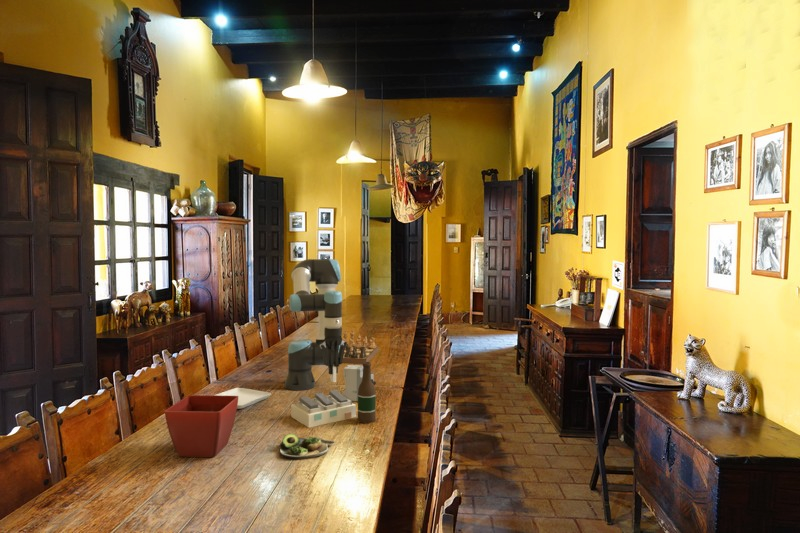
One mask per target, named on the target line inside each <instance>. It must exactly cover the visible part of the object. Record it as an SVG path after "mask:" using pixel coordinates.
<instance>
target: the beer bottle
mask: <svg viewBox="0 0 800 533" xmlns="http://www.w3.org/2000/svg"><path fill="white" fill-rule="evenodd" d="M362 365H363V378H362V382H361V384H360V386H359V388H358V401H357V422H359V423H361V424H371V423H374V422H376V402H377V401H376V396H377V395H376V386H375V385H374V384H373V383H372V381H371V374H372V371H371V370H372V368H371V366H372V362H370V361H369V362H364V363H363V364H362Z"/></svg>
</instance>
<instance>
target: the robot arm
mask: <svg viewBox="0 0 800 533" xmlns="http://www.w3.org/2000/svg"><path fill="white" fill-rule="evenodd" d="M290 275H291V280H292V282H293V294H290V295H289V310H290V311H291V312H318V336H317V337H316V338H315V341H314V342H313V341H312V339H309V338H306V339H304V338H303V339H297V340H294V341H291V342H290V343H288V348H287V349H288V350H287V355H288V358H287V361H288V362H287V364H288V365H287V367H288V368H287V374H286V378H285V380H284V388H285V389H286V390H290V391H304V390H310V389H313V388H315V387H316V381H315V378H314V374H313V371H312V366H327V367H328V374H329V381H330V382H331V383H336V382H337V374H338V372H339V371H338V370H339V367H340V366H341V365H342V364H343V363H342V360H343V355H344V351H345V347H346V345H347V342H348V341H347V342H344V341H343V337H342V336H343V328H342V325H343V324H342V323H343V319H342V318H343V314H342V313H343V312H342V311H343V306H342V305H343V296H342V295H343V294H342V292H341V290H339V291H338V290H336V288H337V287H338V285H339V282H341V281H342V276H341V275H342V274H341V268H340V263H339V261H338V260H337V259H332V258H331V259H330V258H326V259H325V258H324V259H323V258H316V259H314V258H313V259H312V258H309V259H308V258H307V259H304V260H302V261H300V262H298V263H297V264H296V265H294V267H293V268H292V270H291V273H290ZM311 282H312V283H315V287H316V288H317V289H318V290H317V292H318V294H317V293H315V294H312V293H311V287H310V285H311V284H310V283H311Z"/></svg>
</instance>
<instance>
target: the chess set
mask: <svg viewBox="0 0 800 533" xmlns="http://www.w3.org/2000/svg"><path fill="white" fill-rule="evenodd" d="M349 334H350V337H349V339H348V340H347V338H348V336H347V335H348V332H347V331H344V332H342V335H343V338H342V340H343V341H344V342H347V345H346V347H345V351H344V355H343V360H342V364H347V365H363V363H364V362H370V361H371V360H372V359H373V358H374V357H375V356H376V354H378V352H379V351H380V347H379V346H380V345H376V343H375V340H376V337H373V336H372V337H370V339H369V340H368V336H365V337H364V339H362V336H361V334H358V336H357V337H356V340H354V339H355V331H354V329H351V330H350V333H349ZM361 341H362V342H361Z"/></svg>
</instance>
